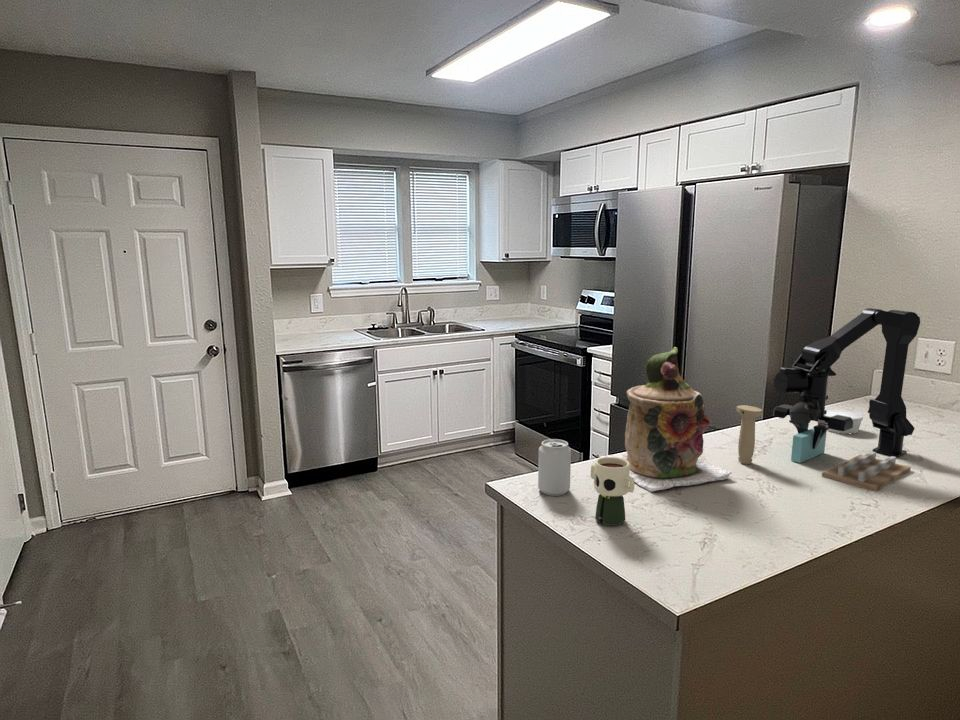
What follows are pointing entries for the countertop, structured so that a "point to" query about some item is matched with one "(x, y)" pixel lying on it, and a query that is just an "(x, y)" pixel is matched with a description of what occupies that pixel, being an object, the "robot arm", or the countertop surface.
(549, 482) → the can
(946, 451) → the countertop surface
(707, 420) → the cookie jar
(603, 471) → the character mug
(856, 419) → the ramekin
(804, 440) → the door panel
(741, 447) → the handle
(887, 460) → the track
